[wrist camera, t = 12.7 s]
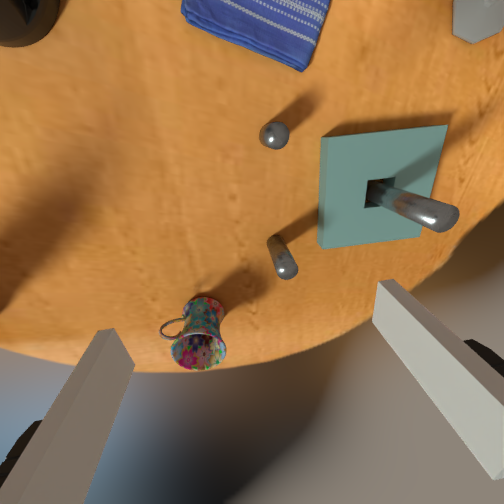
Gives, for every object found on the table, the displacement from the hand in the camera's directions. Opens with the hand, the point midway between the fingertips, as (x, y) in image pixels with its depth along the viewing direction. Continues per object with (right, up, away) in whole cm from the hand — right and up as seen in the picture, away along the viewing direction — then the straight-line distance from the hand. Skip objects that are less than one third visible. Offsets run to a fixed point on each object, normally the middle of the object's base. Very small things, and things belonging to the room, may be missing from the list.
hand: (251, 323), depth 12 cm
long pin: (+20, +15, +29) cm, 38 cm away
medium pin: (+4, +5, +32) cm, 33 cm away
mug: (-11, -8, +37) cm, 40 cm away
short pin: (+3, +21, +24) cm, 32 cm away
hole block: (+20, +15, +29) cm, 38 cm away
